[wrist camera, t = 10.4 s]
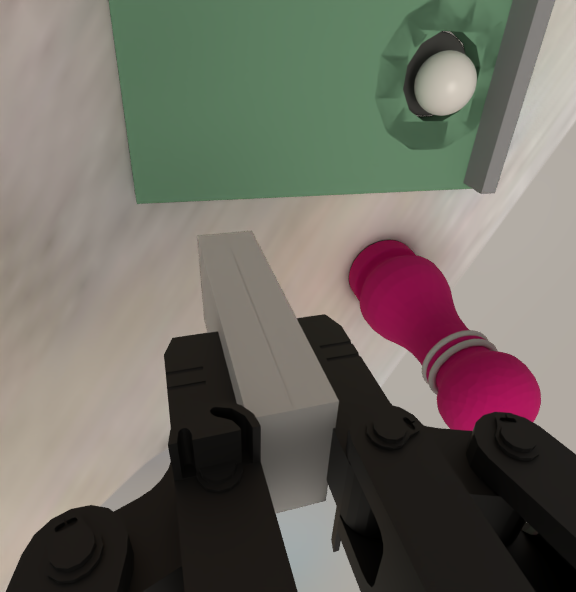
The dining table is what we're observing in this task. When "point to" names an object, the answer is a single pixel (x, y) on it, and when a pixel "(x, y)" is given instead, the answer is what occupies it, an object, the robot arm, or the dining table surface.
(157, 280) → the dining table surface
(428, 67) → the ball
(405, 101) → the putting mat
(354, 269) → the pepper mill
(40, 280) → the dining table surface
